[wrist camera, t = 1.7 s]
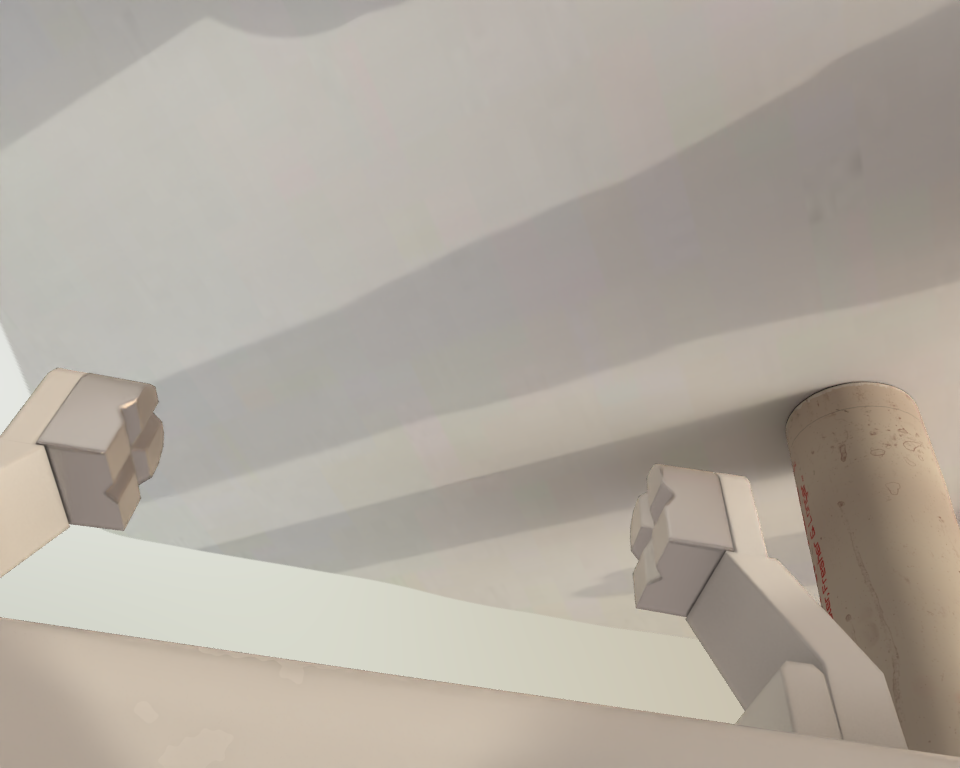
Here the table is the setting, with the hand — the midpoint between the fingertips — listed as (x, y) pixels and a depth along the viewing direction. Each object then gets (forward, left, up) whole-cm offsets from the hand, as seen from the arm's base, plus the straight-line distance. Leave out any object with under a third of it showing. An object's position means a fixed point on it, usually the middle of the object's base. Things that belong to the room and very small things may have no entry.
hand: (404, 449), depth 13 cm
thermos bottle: (+12, +35, -28) cm, 46 cm away
